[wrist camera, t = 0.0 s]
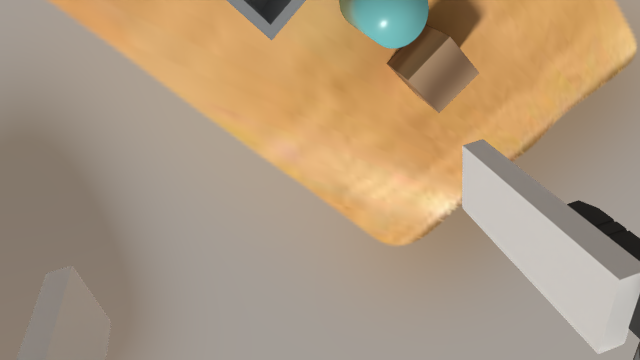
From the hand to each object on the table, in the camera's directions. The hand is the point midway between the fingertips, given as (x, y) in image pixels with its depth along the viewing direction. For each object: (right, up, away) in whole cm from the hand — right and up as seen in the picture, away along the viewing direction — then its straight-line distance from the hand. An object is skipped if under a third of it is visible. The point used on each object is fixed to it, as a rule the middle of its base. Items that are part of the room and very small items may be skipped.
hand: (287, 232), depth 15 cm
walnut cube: (+11, +14, +29) cm, 34 cm away
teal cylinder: (+5, +18, +25) cm, 31 cm away
